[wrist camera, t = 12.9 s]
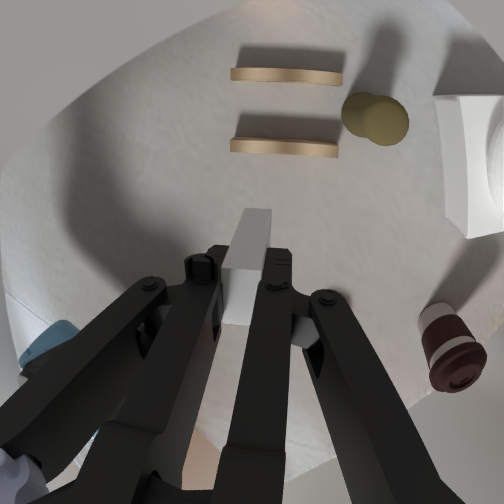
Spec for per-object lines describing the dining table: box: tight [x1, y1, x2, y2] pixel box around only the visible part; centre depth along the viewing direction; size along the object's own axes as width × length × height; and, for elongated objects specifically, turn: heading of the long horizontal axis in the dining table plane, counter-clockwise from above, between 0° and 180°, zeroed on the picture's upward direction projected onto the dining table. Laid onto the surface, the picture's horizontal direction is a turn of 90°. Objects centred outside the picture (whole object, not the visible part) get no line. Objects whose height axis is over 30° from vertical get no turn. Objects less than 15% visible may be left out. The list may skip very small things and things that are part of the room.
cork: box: [341, 92, 409, 146], centre depth 30 cm, size 6×6×11 cm
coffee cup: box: [418, 302, 487, 393], centre depth 42 cm, size 10×10×15 cm
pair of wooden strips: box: [230, 68, 343, 158], centre depth 35 cm, size 13×10×3 cm
